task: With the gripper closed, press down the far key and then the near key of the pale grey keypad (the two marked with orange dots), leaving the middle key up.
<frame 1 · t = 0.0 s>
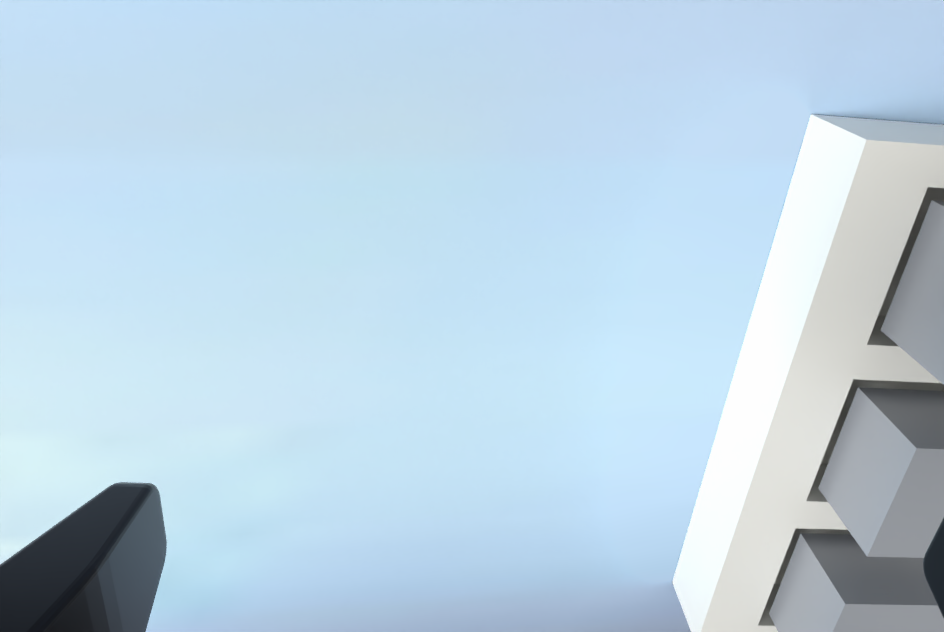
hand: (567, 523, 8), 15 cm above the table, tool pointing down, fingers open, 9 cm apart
key middle: (924, 472, 22), point 4 cm above the table, slide at 0.0 cm
keypad: (851, 393, 26), on the table
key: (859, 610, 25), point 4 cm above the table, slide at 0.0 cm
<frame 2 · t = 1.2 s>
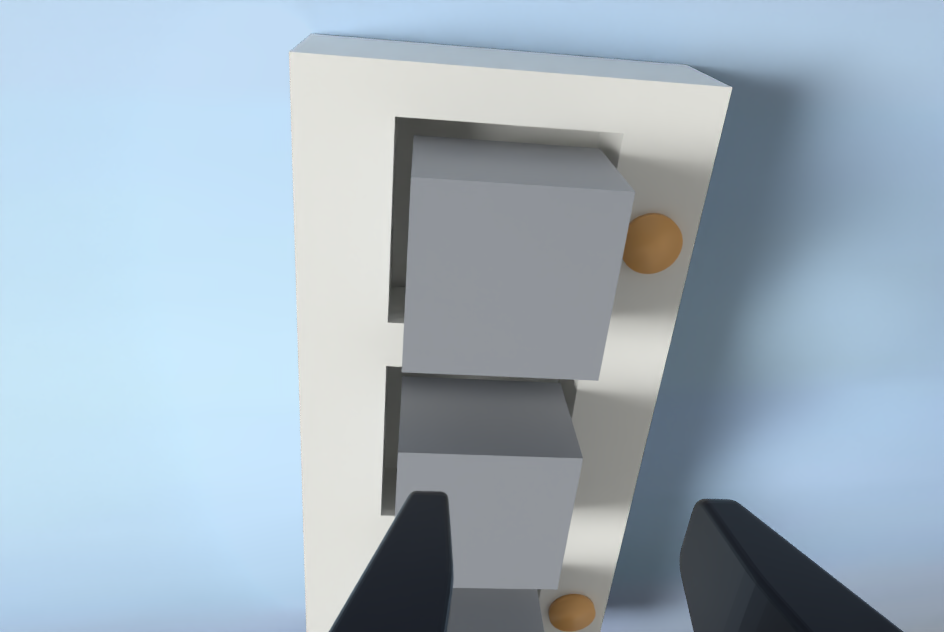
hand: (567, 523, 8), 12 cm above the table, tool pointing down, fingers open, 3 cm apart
key middle: (478, 481, 18), point 4 cm above the table, slide at 0.0 cm
keypad: (469, 385, 22), on the table
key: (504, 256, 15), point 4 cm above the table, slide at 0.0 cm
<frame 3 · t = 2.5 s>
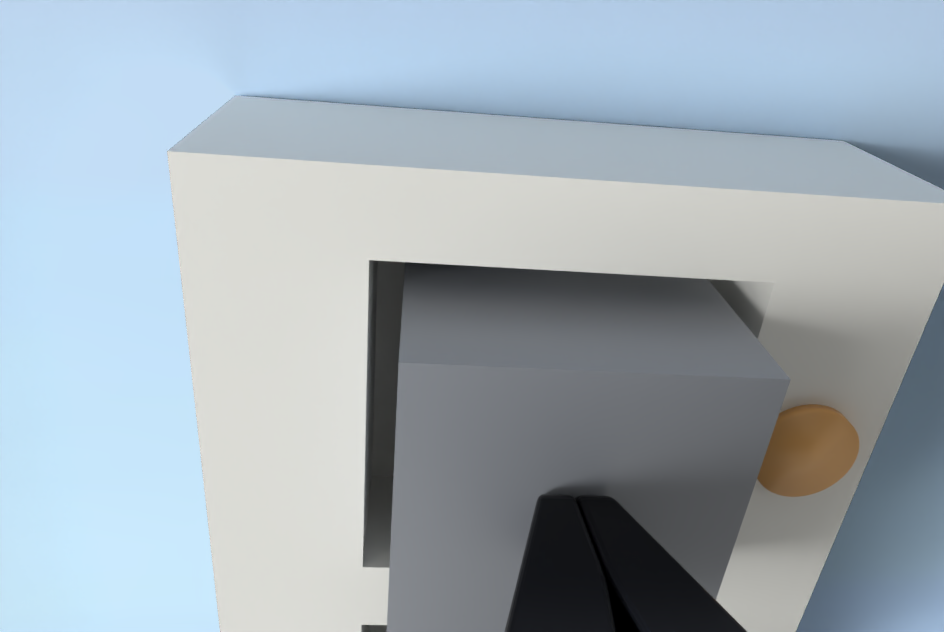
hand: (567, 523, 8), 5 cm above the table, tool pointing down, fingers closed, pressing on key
keypad: (488, 583, 15), on the table
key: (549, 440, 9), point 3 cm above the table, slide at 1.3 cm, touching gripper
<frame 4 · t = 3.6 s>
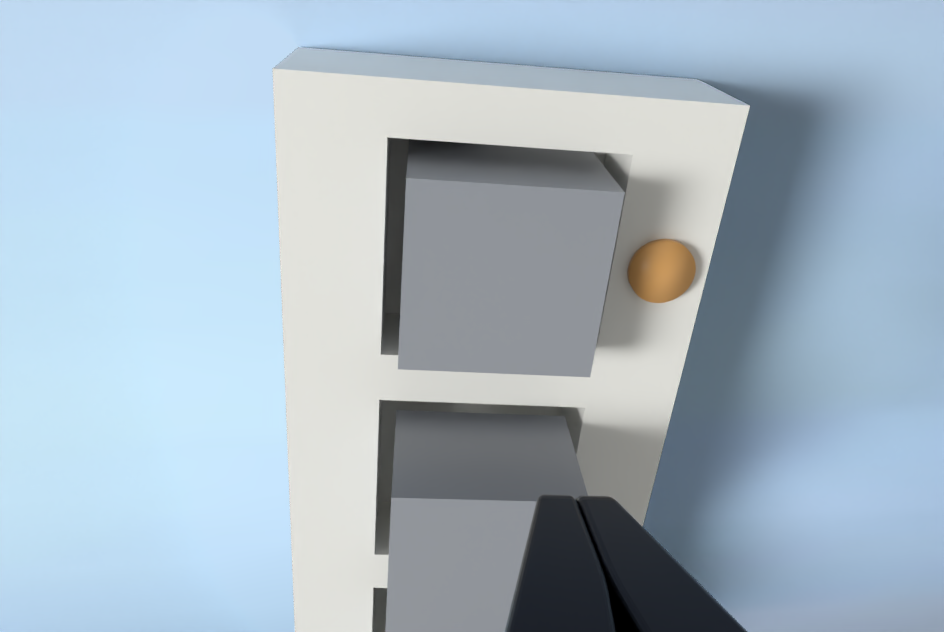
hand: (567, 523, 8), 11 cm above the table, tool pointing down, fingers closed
key middle: (478, 522, 17), point 4 cm above the table, slide at 0.0 cm
keypad: (468, 414, 20), on the table
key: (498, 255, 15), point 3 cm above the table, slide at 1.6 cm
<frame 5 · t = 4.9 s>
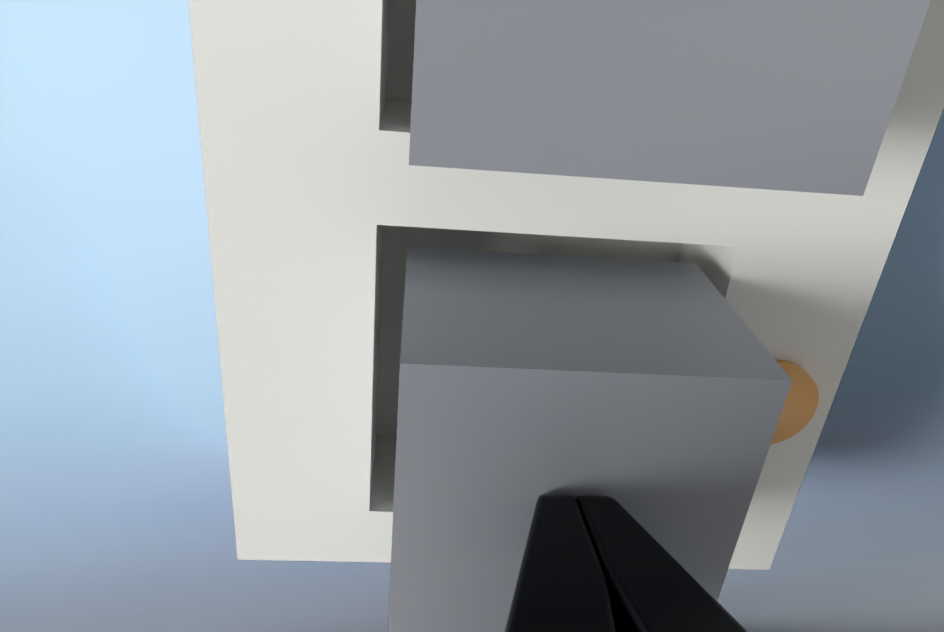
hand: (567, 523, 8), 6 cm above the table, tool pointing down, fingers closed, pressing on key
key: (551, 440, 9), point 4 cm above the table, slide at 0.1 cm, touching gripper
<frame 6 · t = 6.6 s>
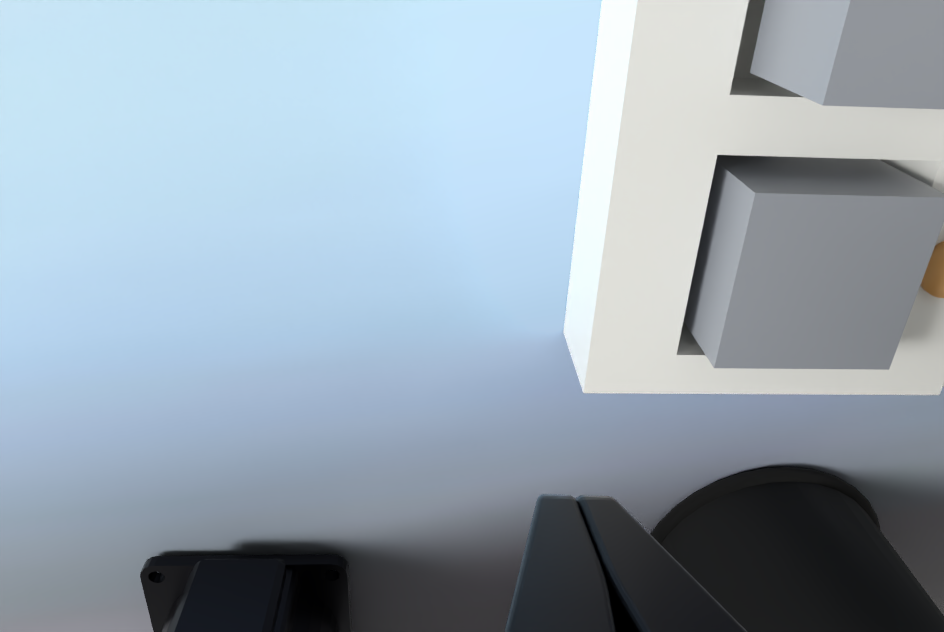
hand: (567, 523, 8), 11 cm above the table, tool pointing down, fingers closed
aerosol can: (752, 552, 25), on the table
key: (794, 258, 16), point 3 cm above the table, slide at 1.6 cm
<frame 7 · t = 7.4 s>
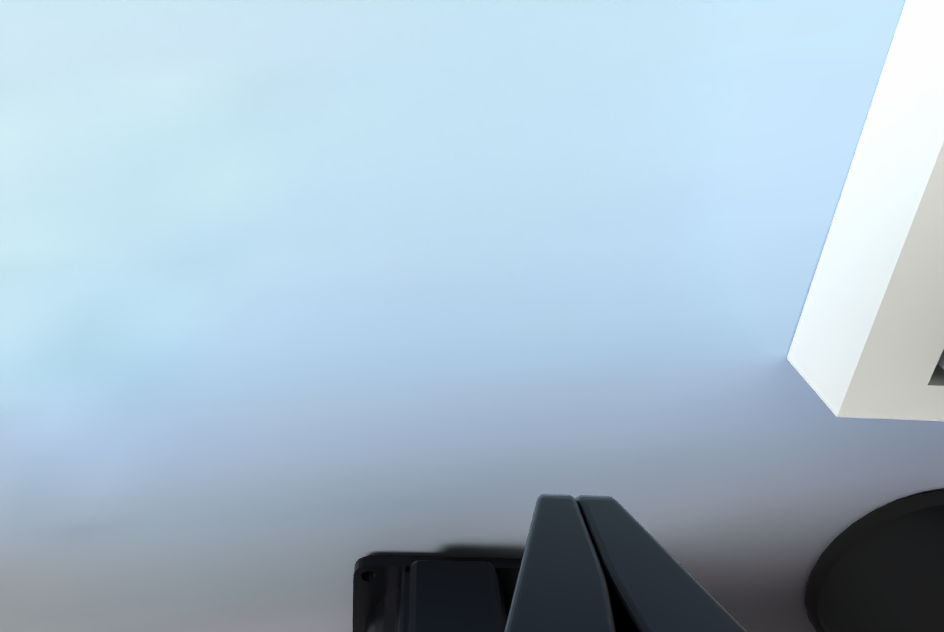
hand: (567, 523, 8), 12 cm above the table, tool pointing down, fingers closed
aerosol can: (911, 569, 27), on the table
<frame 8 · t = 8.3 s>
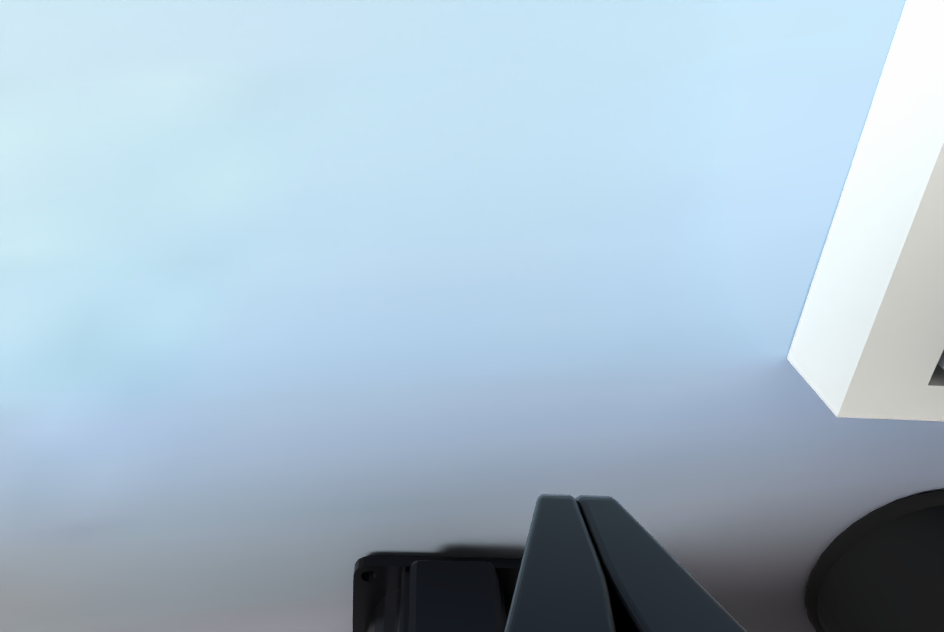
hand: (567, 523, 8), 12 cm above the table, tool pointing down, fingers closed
aerosol can: (911, 569, 27), on the table
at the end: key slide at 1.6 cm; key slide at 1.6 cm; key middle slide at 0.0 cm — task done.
